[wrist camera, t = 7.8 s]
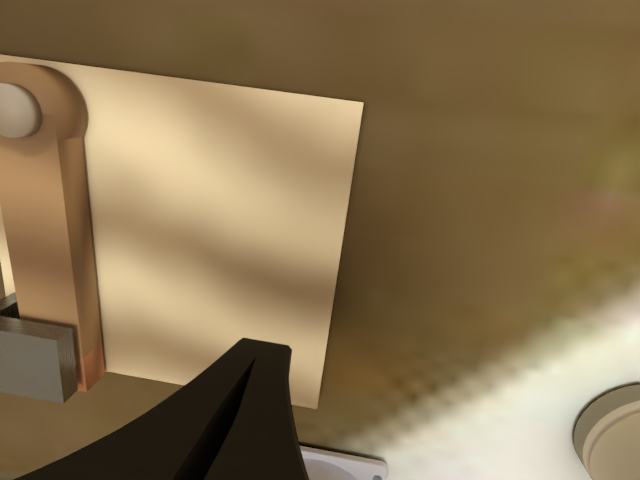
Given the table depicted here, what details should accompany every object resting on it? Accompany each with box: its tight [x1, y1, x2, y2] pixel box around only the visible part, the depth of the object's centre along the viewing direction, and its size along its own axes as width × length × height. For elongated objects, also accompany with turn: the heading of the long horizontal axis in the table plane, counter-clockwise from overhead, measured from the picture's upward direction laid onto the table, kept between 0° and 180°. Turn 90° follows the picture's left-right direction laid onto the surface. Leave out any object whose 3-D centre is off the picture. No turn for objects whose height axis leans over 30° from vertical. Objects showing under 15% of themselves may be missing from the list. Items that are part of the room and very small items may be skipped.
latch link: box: [0, 62, 105, 392], centre depth 18 cm, size 15×4×2 cm, turn 174°
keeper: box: [0, 292, 78, 404], centre depth 20 cm, size 4×5×3 cm
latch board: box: [0, 54, 364, 409], centre depth 20 cm, size 16×17×1 cm
